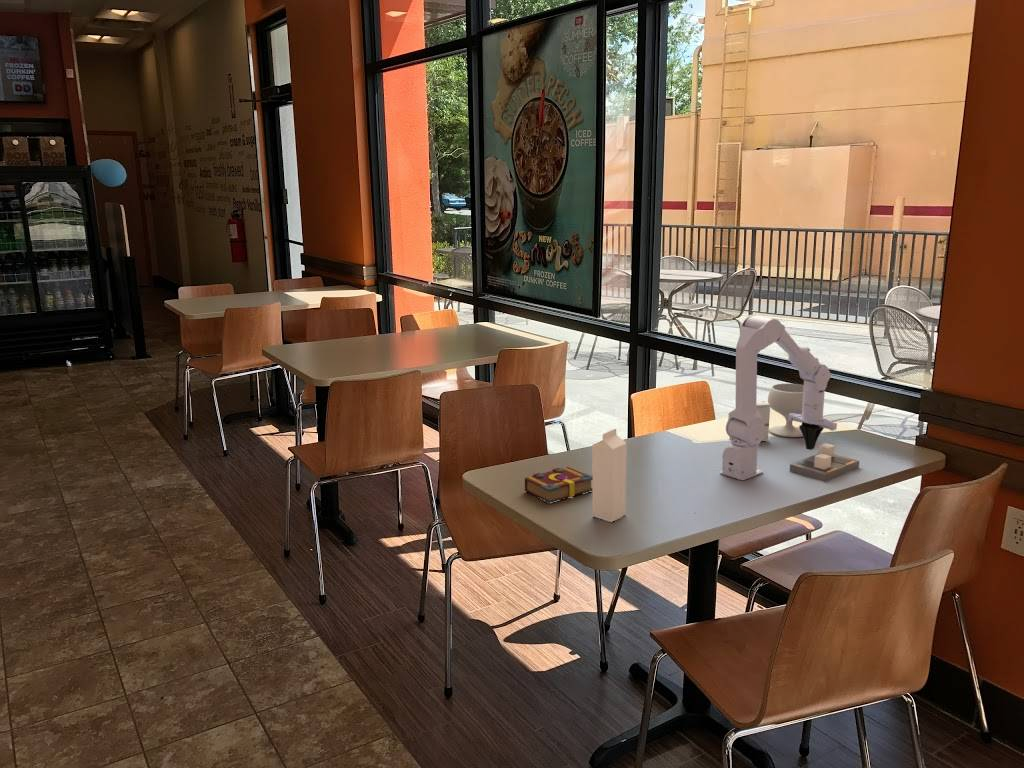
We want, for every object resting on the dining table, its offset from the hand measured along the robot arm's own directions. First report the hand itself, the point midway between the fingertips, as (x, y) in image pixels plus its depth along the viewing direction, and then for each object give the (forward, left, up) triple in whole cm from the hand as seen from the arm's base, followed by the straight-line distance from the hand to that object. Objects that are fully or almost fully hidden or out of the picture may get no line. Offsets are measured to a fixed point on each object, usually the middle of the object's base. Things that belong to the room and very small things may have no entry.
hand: (810, 448), depth 242 cm
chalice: (+18, +19, -3) cm, 27 cm away
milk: (-74, +7, -3) cm, 74 cm away
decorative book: (-72, +28, -4) cm, 77 cm away
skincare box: (+4, +21, -3) cm, 22 cm away
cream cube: (0, -5, -1) cm, 5 cm away
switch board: (-5, -8, -3) cm, 9 cm away
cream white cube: (-9, -10, -1) cm, 13 cm away
